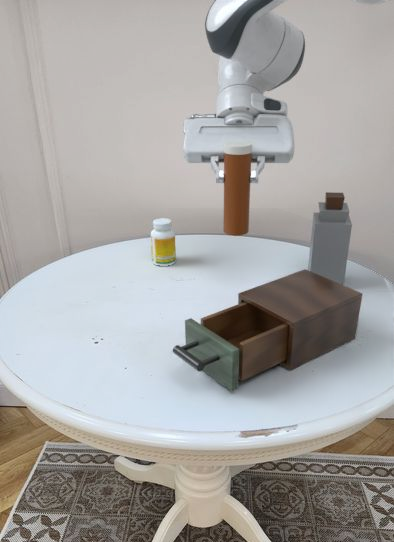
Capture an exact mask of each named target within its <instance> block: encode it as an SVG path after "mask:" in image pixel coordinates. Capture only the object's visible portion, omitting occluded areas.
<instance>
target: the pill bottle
mask: <svg viewBox="0 0 394 542" xmlns="http://www.w3.org/2000/svg"><path fill="white" fill-rule="evenodd" d="M251 152H252V143H251V142H247V141H229V142H225V143H224V163H223V170H224V183H223V230H222V231H223V233H224V234H225V235H228V236H234V237H236V236H237V237H239V236H245V235H247V234H248V233H249V230H250V229H249V228H250V226H249V225H250V205H251V204H250V202H251V183H250V176H251V174H250V173H251V170H252V163H251Z"/></svg>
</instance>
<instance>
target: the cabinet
mask: <svg viewBox="0 0 394 542" xmlns="http://www.w3.org/2000/svg"><path fill="white" fill-rule="evenodd" d="M237 294H238V297H237V298H238V299H237V305H238V304H240V303H243V302H247V303H249V304H251V305H253V306H255V307H257V308H259V309H260V310H262V311H264V312H266V313H268V314H270V315H272V316H273V317H275V318H277V319H279V320H281V321H283V322H285V323H286V324H288V325H290V331H289V343H288V354H287V360H285V361H283V362H281V363H279V364H278V365H279V366H281V367H282V368H284V369H285V370H287V371H289V372H291V371H293V370H295V369H298V368H299V367H301V366H304V365H305V364H307V363H310V362H311V361H313V360H315V359H317V358H320V357H322V356H324V355H325V354H329V352H332V351H335V350H337V349H338V348H340V347H342V346H344V345H346V344H348V343H351V342H353V341H354V340H356V336H357V331H358V324H359V320H360V319H359V318H360V313H361V306H362V300H363V293H362V292H361V291H357V289H353V288H351V287H349V286H346V285H341V284H339V283H337V282H334V281H332V280H330V279H327V278H325V277H323V276H320V275H318V274H316V273H313V272H311V271H308V269H305V268H304V269H301V270H299V271H297V272H294V273H291V274H288V275H285V276H282V277H280V278H277V279H274V280H270V281H269V282H266V283H263V284H260V285H257V286H255V287H251V288H249V289H247V290H244V291H240V292H238V293H237Z"/></svg>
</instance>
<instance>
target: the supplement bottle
mask: <svg viewBox="0 0 394 542" xmlns="http://www.w3.org/2000/svg"><path fill="white" fill-rule="evenodd" d="M152 227H153V229H152V230H151V232H150V248H151V249H150V250H151V262H152V264H153V263H154V264H155V266H156V265H160V266H159V267H169V266H168V265H170V266H173V265H174V264H175V263H176V261H177V253H176V251H177V250H176V249H177V248H176V232H175V230H174V229H173V228H172V227H173V222H172V220H171V219H170V218H164V217H161V218H156V219H154V220H153V221H152ZM154 264H153V265H154ZM172 264H173V265H172Z"/></svg>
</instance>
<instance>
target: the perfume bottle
mask: <svg viewBox="0 0 394 542" xmlns="http://www.w3.org/2000/svg"><path fill="white" fill-rule="evenodd" d="M324 198H325V201H324V202H323V201H321V202H320V201H319V202H318V212H313V216H312V225H311V233H310V234H311V235H310V243H309V244H310V246H309V254H308V255H309V256H308V264H307V270H308V271H311V272H313V273H316V274H318V275H320V276H323V277H325V278H327V279H330V280H332V281H334V282H337V283H339V284H341V285H344V284H345V276H346V270H347V264H348V256H349V249H350V242H351V235H352V228H353V224H352V220H351V217H350V209H349V205H348V203H347V202H345V199H346V197H345V194H344V192H331V191H330V192H327V191H326V192H325V197H324ZM344 286H345V285H344Z"/></svg>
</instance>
